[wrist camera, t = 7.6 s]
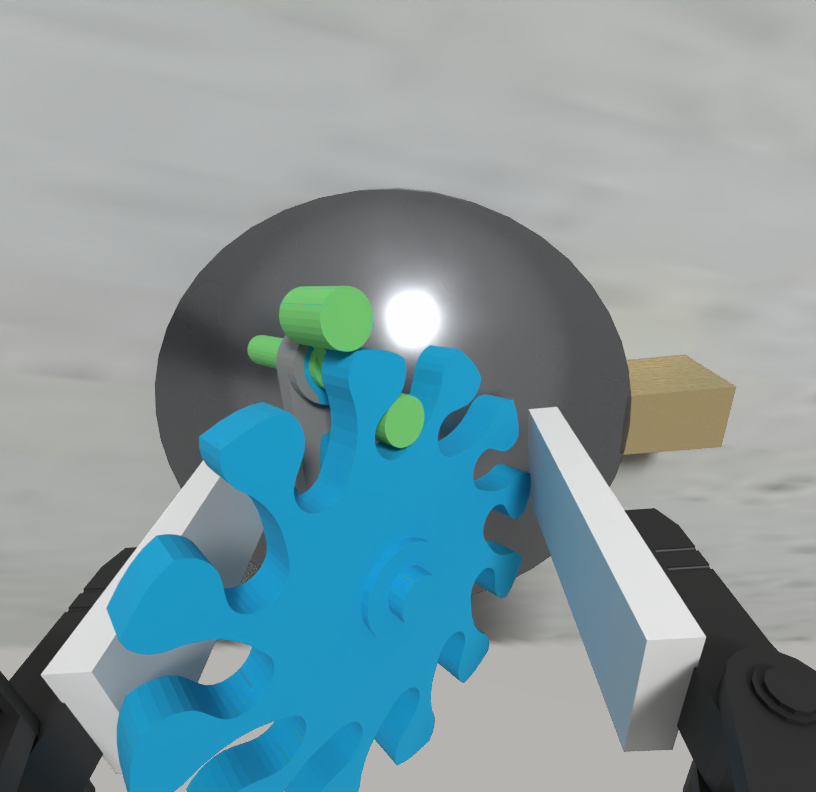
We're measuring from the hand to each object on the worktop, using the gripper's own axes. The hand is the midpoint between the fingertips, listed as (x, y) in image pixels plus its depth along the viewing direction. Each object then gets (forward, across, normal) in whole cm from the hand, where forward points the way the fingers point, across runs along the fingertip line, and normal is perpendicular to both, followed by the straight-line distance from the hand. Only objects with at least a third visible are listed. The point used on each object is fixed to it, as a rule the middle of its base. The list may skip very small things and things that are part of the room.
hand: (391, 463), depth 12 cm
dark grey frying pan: (+3, +1, 0) cm, 4 cm away
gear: (0, 0, 0) cm, 0 cm away
